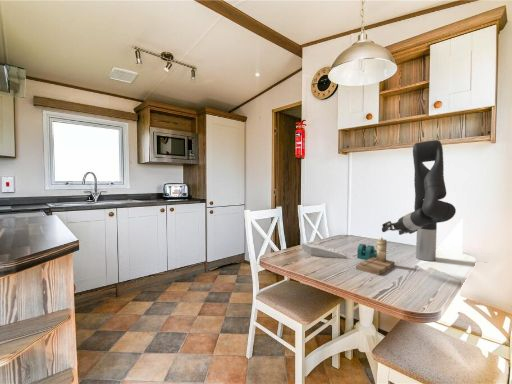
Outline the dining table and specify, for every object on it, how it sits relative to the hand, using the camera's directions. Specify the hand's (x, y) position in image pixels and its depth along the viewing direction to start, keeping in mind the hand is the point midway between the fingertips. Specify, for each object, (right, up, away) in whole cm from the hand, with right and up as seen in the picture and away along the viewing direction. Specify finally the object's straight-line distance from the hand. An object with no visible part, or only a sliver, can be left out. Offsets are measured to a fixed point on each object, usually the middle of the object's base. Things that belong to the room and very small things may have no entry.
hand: (391, 231), depth 128 cm
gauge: (-3, -16, +5) cm, 17 cm away
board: (-8, -18, 0) cm, 20 cm away
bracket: (-2, -18, +19) cm, 26 cm away
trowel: (-28, -18, +24) cm, 41 cm away
